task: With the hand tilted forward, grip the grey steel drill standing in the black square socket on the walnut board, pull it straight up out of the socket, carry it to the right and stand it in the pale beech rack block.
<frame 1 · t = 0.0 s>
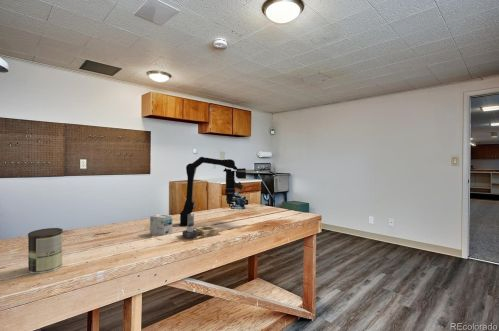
hand: (229, 202, 166), 15 cm above the workbench, fingers open, 9 cm apart
socket rack board: (198, 237, 138), on the workbench
coffee can: (45, 268, 97), on the workbench
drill: (190, 237, 135), point 1 cm above the workbench, touching socket rack board
light bulb box: (161, 234, 142), on the workbench
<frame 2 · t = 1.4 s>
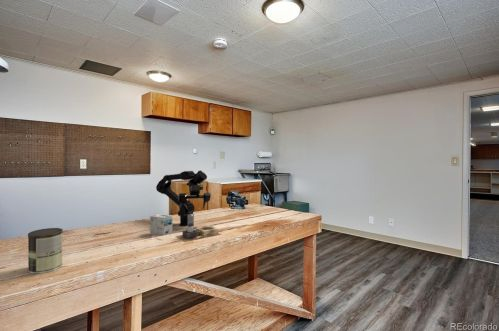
hand: (195, 209, 149), 13 cm above the workbench, fingers open, 9 cm apart
nothing on the workbench moved.
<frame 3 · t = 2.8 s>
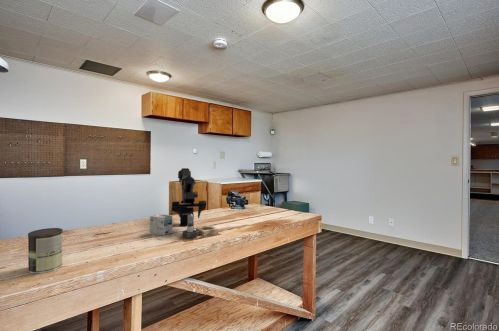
hand: (190, 218, 138), 10 cm above the workbench, fingers open, 9 cm apart
nothing on the workbench moved.
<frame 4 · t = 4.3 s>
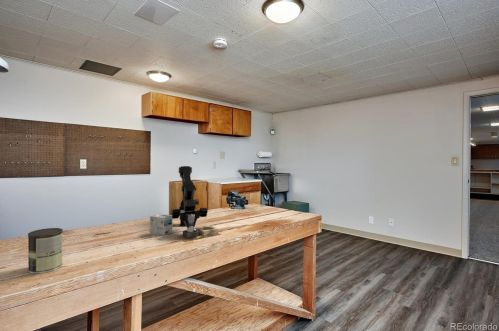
hand: (190, 226, 133), 7 cm above the workbench, fingers closed on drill, 3 cm apart
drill: (190, 236, 135), point 1 cm above the workbench, touching gripper, socket rack board
everything else where it was.
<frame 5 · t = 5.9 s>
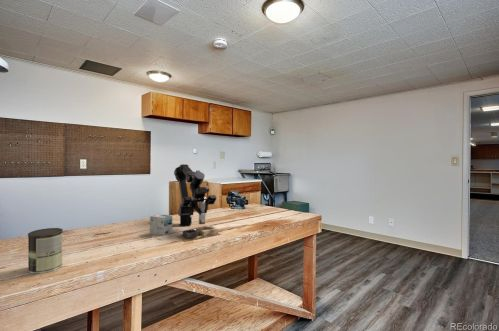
hand: (203, 213, 137), 13 cm above the workbench, fingers closed on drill, 3 cm apart
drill: (201, 223, 139), point 7 cm above the workbench, touching gripper
everything else where it was.
when the fingers open (9 cm above the workbench, at t = 7.3 s): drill drops 2 cm, resting on socket rack board.
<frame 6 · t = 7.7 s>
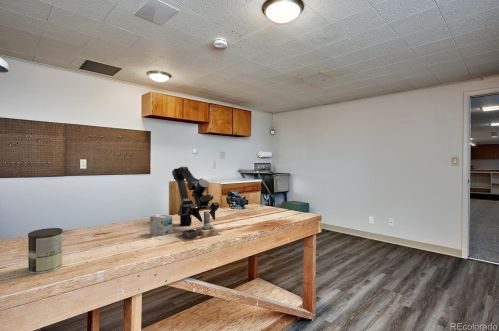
hand: (208, 220, 140), 9 cm above the workbench, fingers open, 8 cm apart
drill: (206, 233, 141), point 1 cm above the workbench, touching socket rack board
everything else where it was.
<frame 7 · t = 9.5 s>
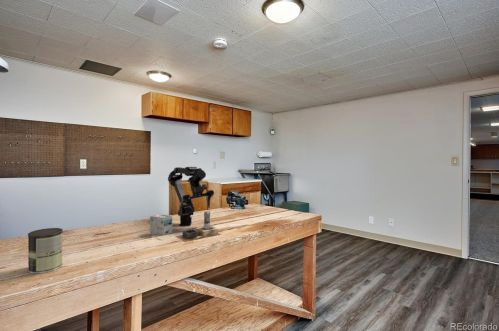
hand: (201, 209, 149), 13 cm above the workbench, fingers open, 9 cm apart
nothing on the workbench moved.
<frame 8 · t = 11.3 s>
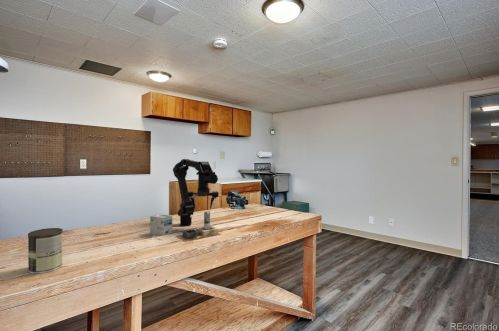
hand: (202, 208, 152), 13 cm above the workbench, fingers open, 9 cm apart
nothing on the workbench moved.
at the end: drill 0.0 cm from the target spot, point 1.2 cm above the workbench; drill tilted 1°; the gripper is holding nothing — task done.
